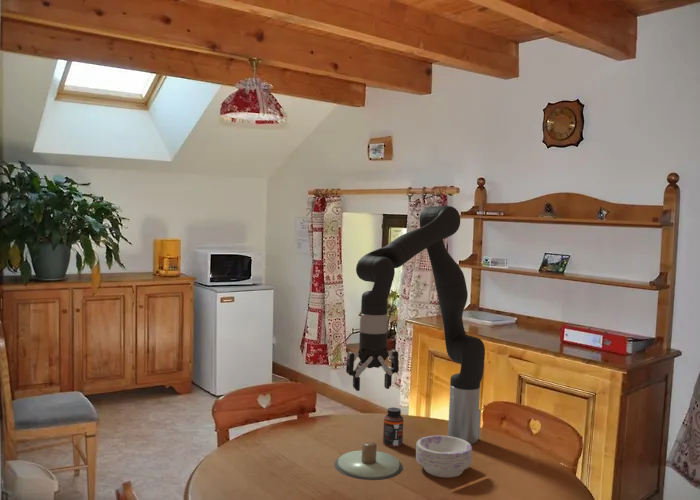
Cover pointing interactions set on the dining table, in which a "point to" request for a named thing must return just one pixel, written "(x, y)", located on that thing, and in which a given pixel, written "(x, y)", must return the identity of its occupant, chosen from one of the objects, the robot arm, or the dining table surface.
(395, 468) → the lid
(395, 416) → the supplement bottle
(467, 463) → the paper bowls
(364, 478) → the mat
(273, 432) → the dining table surface
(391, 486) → the dining table surface
